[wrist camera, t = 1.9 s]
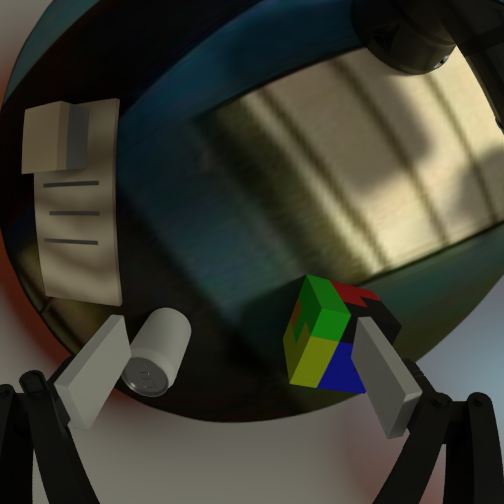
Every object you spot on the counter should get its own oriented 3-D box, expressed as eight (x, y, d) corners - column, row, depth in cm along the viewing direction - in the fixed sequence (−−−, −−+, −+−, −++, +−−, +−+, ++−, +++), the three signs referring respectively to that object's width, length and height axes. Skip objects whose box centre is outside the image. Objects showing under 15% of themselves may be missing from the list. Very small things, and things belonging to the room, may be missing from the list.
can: (185, 304, 40) (162, 353, 28) (196, 344, 42) (179, 399, 30) (143, 308, 40) (109, 355, 29) (155, 346, 42) (129, 398, 31)
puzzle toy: (345, 350, 42) (364, 393, 32) (282, 338, 41) (289, 383, 32) (372, 291, 39) (401, 325, 30) (306, 274, 39) (321, 308, 29)
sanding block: (56, 115, 32) (25, 109, 25) (89, 109, 32) (60, 100, 25) (53, 170, 34) (21, 174, 27) (86, 168, 34) (56, 170, 27)
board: (41, 113, 33) (37, 113, 32) (119, 99, 33) (116, 98, 32) (49, 293, 40) (45, 295, 39) (122, 303, 40) (119, 306, 39)
